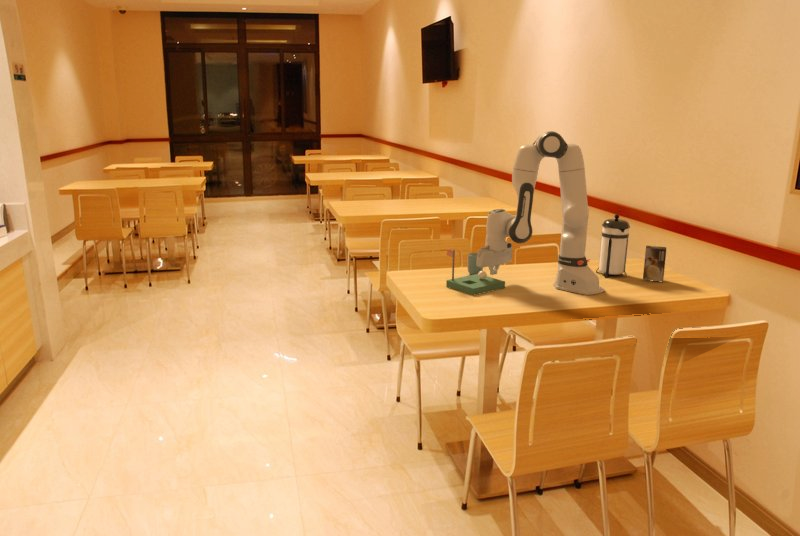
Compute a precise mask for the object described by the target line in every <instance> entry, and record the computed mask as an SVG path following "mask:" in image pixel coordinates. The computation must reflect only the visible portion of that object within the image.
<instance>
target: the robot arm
mask: <svg viewBox="0 0 800 536" xmlns="http://www.w3.org/2000/svg"><path fill="white" fill-rule="evenodd" d="M544 158H553V159H554V158H555V160H556V161H557V167H558V177H559V188H560V189H559V190H560V191H559V192H560V205H561V217H562V223H561V233H560V245H559V246H560V247H559V254H558V259H557V263H558V266H557V271H556V272H557V273H556V277H555V279H554V282H553V286H554V287H555V289H556V290H561V291H566V292H570V293H574V294H575V293H576V294H580V295H586V296H590V295H592V296H593V295H597V294H601V293H603V292H604V291H605V288H604V287H603V286H600V279H599V276H598V275H597V274H596V273H595V272H594V270H592V269H591V268H590V267H589V265H588V263H590V260H591V259H587V256H586V248H587V247H586V246H587V235H588V222H589V221H588V220H589V213H590V212H589V211H590V210H589V204H588V203H589V202H588V193H587V181H586V179H587V178H586V170H585V169H586V168H585V161H584V156H583V152H582V148H581V147H580V146H579V145H577V144H574V143H567V142H566V141H565V140H564V137H562V135H561V134H559V133H558V132H557V131H554V130H548V131H545V132H543V133H541V134H539V136H538V137H537V138H536V140H535V141H534V142H533V143H532V144H524V145H522V146H520V147H518V149H517V152H516V155H515V159H514V163H513V167H512V173H511V174H512V175H511V182H512V183H511V184H512V186H513V188H514V190H515V192H516V195H517V204H516V211H515V215H513V214H511V213H509V212H508V211H506V210H505V209H504V208H497V209H493V210H490V211H489V212H488V214H487V217H486V224H485V225H486V227H485V229H486V235H485V242H484V243H485V246H481V247H480V248H479V249H478V252H477V253H478V255H477V260H476V265H477V267H480V268H483V269H484V268H488V270H489V274H490V275H491V276H493V275H498V270H499V268H500V265H505V264H509V263H511V262H512V261H513V246H514V245H513V243H516V244H525V243H526V242H528V241H529V240H530V239H531V238H532V237H533V227H532V223H531V221H532V218H531V217H532V209H533V204H534V203H533V202H534V194H535V187H536V183H537V179H538V175H539V174H538V173H539V167H540V164H541V162H542V161H543V159H544ZM507 237H508V238H510V239H511V240H512V241H513V243H512V242H509V241H507V240H506V238H507Z"/></svg>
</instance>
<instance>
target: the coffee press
mask: <svg viewBox="0 0 800 536" xmlns="http://www.w3.org/2000/svg"><path fill="white" fill-rule="evenodd" d="M601 226H602V230H601V238H600V240H601V241H600V251H599V261H598V262H599V263H598V268H597V269H596V270H595V272H596V273H597V272H598V270H599V272H601V273H602V274H604V278H606V277H607V278H610V277H609V276H610V275H621V276H622V277H623V278H625V277H627V276H628V274H627V272H626V263H627V255H628V246H629V245H628V244H629V237H630V233H629V232H630V229H631V225H630V223H629V221H627V220H624V219H621V218H620V215H619V214H615V215H614V218H608V219H605V220H604V221H603V223H602V224H601ZM623 273H624V274H623ZM624 276H625V277H624ZM607 278H606V279H607Z"/></svg>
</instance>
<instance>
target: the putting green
mask: <svg viewBox="0 0 800 536" xmlns="http://www.w3.org/2000/svg"><path fill="white" fill-rule="evenodd" d="M455 252H456V251H455V249H449V248H446V256H447V257H452V268H451V270H452V271H451V272H452V273H451V279H447V280H446V285H445V286H447V287H446V288H449V287H450V288H449V289H452V288H453V290H455V289H456V290H455V291H458V290H459V291H458V292H461V291H462V293H464V292H465V293H464V294H467V293H468V294H467V295H470V294H472V295H471V296H475V295H474V294H477V295H480V294H479V293H481V294H484V293H483V292H485V293H489V292H488V291H490V292H493V291H492V290H494V291H497V289H498V290H501V289H506V281H505V280H502V279H498V278H494V277H491V276H487V277H486V278H485V279H484V280H481V279H479V278H478V274H474V275H471V274H469V275H465V276H461V277H456V278H455V257H456V256H455V255H456V254H455Z"/></svg>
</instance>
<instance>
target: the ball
mask: <svg viewBox="0 0 800 536" xmlns="http://www.w3.org/2000/svg"><path fill="white" fill-rule="evenodd" d="M486 277H487V272H486V271H485V270H483V271H480V272H479V273H478V278H479V279H481V280H484V279H485V278H486Z"/></svg>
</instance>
